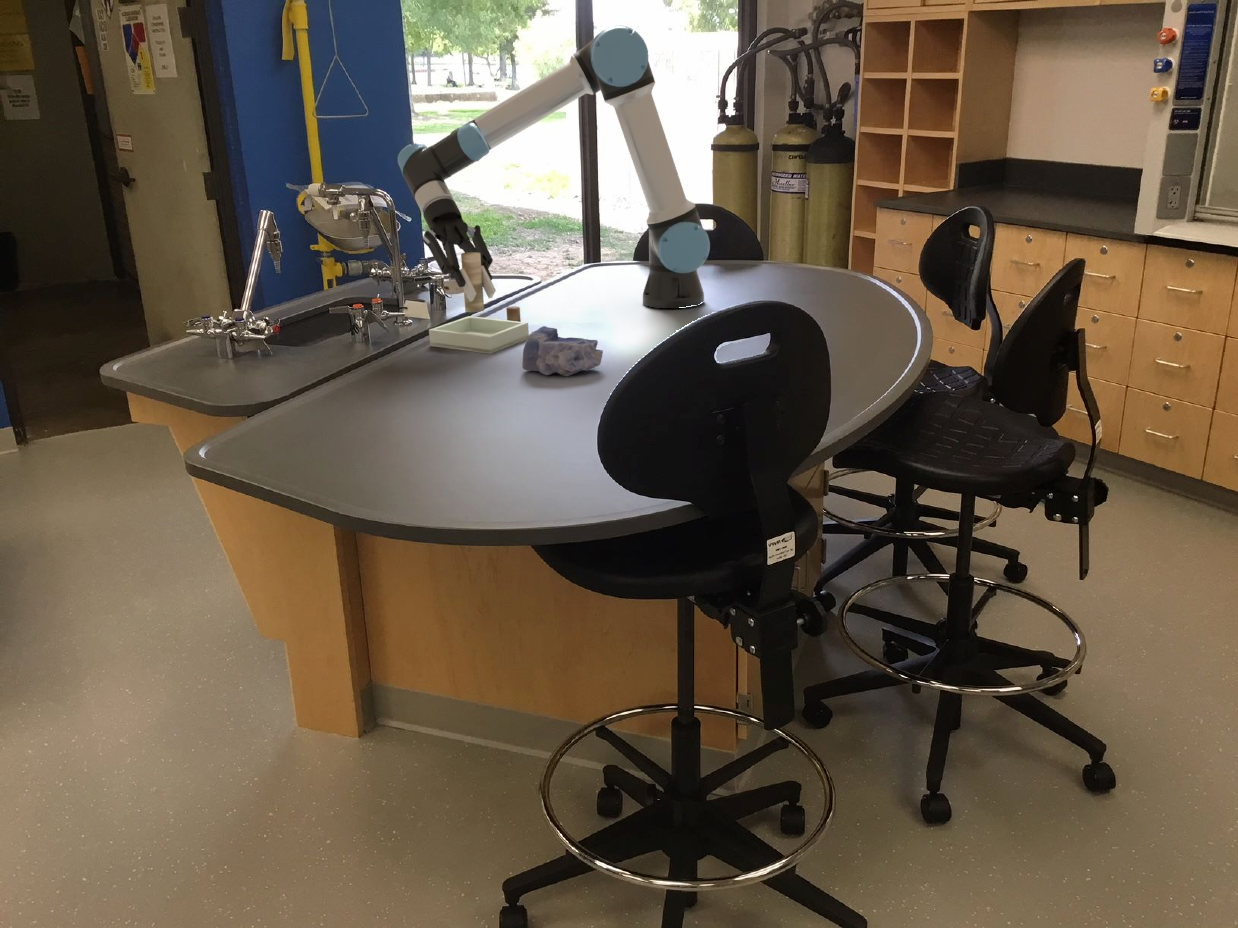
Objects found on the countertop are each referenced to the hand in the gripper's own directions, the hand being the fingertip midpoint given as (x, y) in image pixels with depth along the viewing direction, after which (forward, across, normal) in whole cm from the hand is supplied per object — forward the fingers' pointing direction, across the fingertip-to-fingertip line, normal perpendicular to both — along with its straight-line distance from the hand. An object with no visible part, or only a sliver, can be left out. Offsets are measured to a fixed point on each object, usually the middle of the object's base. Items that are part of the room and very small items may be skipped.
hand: (482, 295), depth 212 cm
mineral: (+27, -1, +12) cm, 30 cm away
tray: (+5, 0, -10) cm, 11 cm away
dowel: (0, 0, -5) cm, 5 cm away
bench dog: (+2, -12, -13) cm, 18 cm away
